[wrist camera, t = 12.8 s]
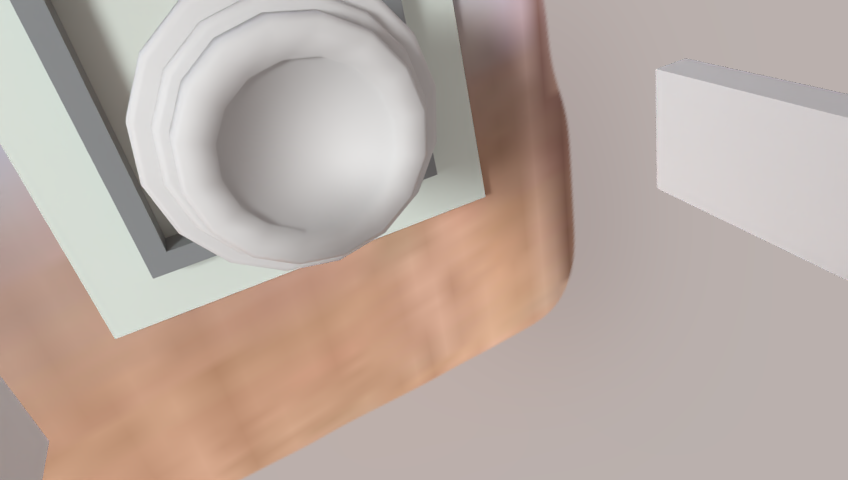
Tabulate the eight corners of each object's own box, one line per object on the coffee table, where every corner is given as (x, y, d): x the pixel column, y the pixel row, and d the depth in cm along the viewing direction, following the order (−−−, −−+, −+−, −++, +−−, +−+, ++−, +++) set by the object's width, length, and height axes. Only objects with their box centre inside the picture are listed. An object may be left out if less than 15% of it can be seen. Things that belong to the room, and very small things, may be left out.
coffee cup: (338, 174, 30) (435, 291, 20) (132, 168, 26) (128, 306, 16) (360, -25, 27) (490, -4, 17) (127, -66, 23) (118, -69, 13)
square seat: (-165, -148, 20) (-194, -156, 18) (404, -249, 25) (424, -264, 23) (115, 332, 30) (114, 357, 28) (480, 193, 35) (498, 206, 33)
